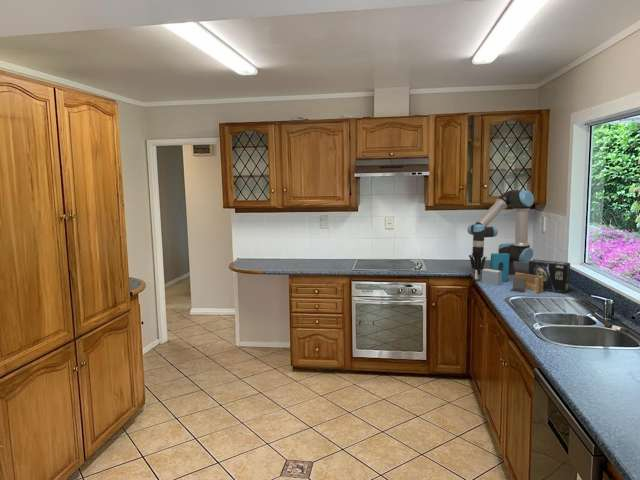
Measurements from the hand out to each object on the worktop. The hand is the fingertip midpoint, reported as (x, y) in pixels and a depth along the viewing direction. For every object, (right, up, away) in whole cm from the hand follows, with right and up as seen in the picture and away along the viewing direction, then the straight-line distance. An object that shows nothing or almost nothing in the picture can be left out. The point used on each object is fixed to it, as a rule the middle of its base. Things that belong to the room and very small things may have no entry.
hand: (476, 278), depth 331 cm
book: (+7, -3, -8) cm, 12 cm away
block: (+16, -2, 0) cm, 16 cm away
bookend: (+17, -6, -29) cm, 34 cm away
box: (+39, -5, -25) cm, 46 cm away
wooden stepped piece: (+23, -5, -27) cm, 35 cm away
